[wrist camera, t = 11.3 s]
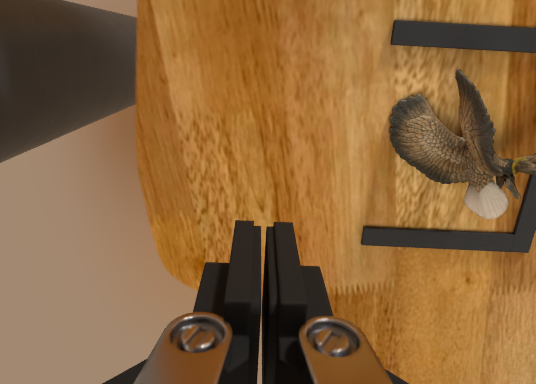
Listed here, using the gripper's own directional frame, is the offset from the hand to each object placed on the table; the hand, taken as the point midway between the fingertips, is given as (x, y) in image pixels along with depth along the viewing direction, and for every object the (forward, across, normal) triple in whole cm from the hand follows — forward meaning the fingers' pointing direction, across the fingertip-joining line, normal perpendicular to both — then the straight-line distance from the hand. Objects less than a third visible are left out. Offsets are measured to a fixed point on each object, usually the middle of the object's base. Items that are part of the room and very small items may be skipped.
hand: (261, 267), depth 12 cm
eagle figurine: (+18, -14, -1) cm, 23 cm away
